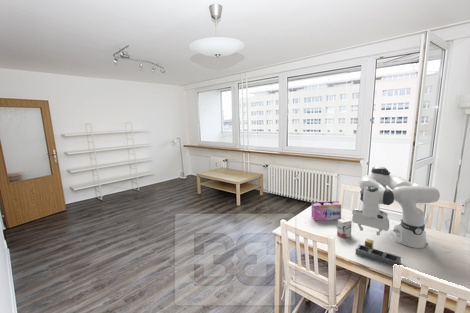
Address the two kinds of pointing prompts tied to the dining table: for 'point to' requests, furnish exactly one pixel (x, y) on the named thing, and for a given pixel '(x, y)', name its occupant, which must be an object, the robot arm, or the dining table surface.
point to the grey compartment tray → (378, 255)
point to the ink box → (344, 227)
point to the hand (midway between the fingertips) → (369, 232)
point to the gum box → (326, 210)
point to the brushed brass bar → (369, 243)
